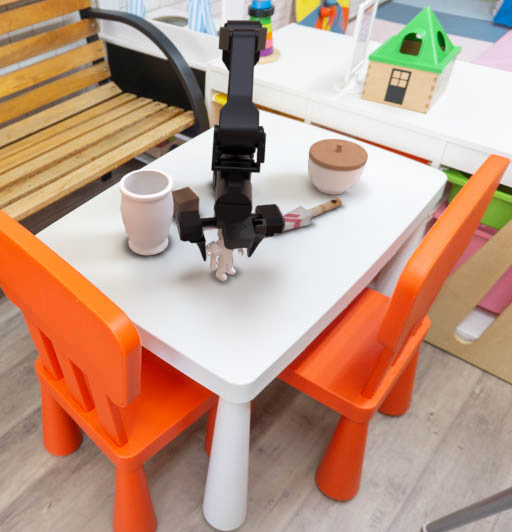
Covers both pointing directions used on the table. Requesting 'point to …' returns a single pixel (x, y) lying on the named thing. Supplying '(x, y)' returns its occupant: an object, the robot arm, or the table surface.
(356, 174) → the lidded bowl
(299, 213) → the garden trowel
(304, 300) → the table surface
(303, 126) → the table surface
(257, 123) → the robot arm
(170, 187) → the jar
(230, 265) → the pink action figure
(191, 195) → the toy block
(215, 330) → the table surface
